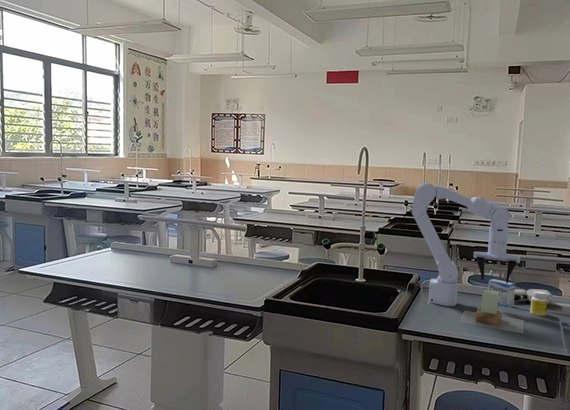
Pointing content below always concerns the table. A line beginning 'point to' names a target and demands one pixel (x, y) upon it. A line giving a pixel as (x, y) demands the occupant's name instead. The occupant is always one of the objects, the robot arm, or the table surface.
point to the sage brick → (489, 302)
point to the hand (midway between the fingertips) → (494, 280)
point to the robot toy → (529, 295)
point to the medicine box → (503, 292)
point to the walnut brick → (488, 317)
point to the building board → (505, 324)
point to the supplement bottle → (538, 303)
